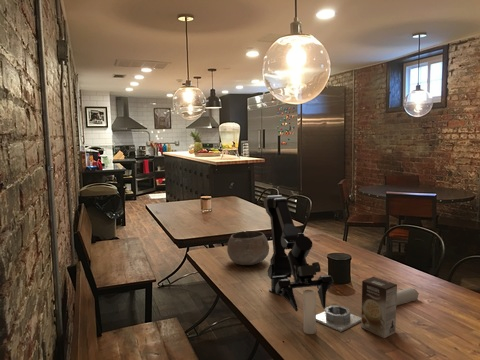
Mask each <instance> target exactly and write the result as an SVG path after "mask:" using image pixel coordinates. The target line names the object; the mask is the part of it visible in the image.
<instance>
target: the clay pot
mask: <svg viewBox="0 0 480 360" xmlns="http://www.w3.org/2000/svg"><path fill="white" fill-rule="evenodd" d="M226 249H227V254H228V257H229V259H230V260H231V261H232V262H234V264H237V265H239V266H254V265H257V264H259V263H262V262H263V261H264V260H266V258H267V257H268V255H269V253H270V244H269V241H268V239H267V237H266V235H265V234H264V233H263V232H262V231H255V230H243V231H238V232H235V233H233V234H231V236H230V237H229V239H228V241H227V246H226Z"/></svg>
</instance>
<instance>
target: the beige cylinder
mask: <svg viewBox="0 0 480 360" xmlns="http://www.w3.org/2000/svg"><path fill="white" fill-rule="evenodd" d="M302 297H303V298H302V303H303V306H302V307H303V311H302V312H303V313H302V314H303V320H302V321H303V332H304V334H306V335H314V334H316V332H317V321H316V315H317V292H316V291H315V290H313V289H306V290H303V292H302Z"/></svg>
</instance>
